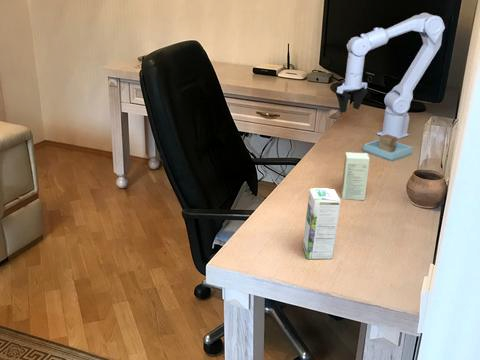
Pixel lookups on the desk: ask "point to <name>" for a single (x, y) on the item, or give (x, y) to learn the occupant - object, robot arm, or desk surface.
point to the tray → (399, 152)
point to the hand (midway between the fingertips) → (349, 110)
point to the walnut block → (388, 143)
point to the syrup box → (321, 223)
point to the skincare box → (355, 176)
